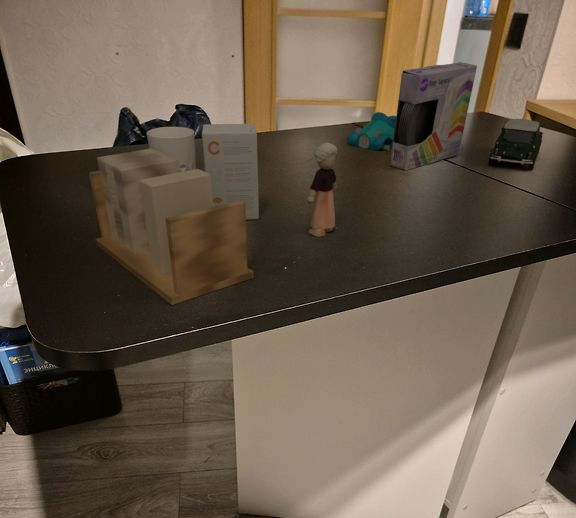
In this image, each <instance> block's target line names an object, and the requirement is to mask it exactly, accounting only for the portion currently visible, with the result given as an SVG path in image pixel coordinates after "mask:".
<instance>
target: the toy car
mask: <svg viewBox="0 0 576 518" xmlns="http://www.w3.org/2000/svg"><path fill="white" fill-rule="evenodd" d="M396 116H397V115H387V114H386V113H385V112H381V111H377V112H374V113H372V116H371V119H370V121H369V122H368V123H367V124H366V125H364V126H363V128H362V127H356V129H354V130H351V131H350V132H349V133H348V135H347V137H346V140H347V143H348V144H349V145H350V146H355V147H358V148H359V149H360V148H362V149H365V150H373V151H379V150H383V151H386V152H389V151H390V149H391V150H392V144H393V137H394V129H395V123H396Z"/></svg>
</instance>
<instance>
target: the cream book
mask: <svg viewBox="0 0 576 518" xmlns="http://www.w3.org/2000/svg"><path fill="white" fill-rule="evenodd" d="M139 182H140V188H141V195H142V202H143V209H144V215H145V222H146V229H147V236H148V242H149V249H150V256H151V263H152V267H153V268H154V269H155V270H157V271H158V272H160V273H161V274H162V275H165V274H169V273H172V268H171V260H170V252H169V244H168V236H167V228H166V220H165V219H166V218H169V217H173V216H178V215H182V214H186V213H190V212H194V211H199V210H203V209H207V208H211V207H213V199H212V184H211V174H209V173H206V172H205V170H203V169H202V170H201V169H200V168H196V169H194V170H189V171H184V172H179V173H174V174H168V175H163V176H158V177H153V178H148V179H143V180H139Z"/></svg>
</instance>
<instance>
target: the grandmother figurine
mask: <svg viewBox="0 0 576 518" xmlns="http://www.w3.org/2000/svg"><path fill="white" fill-rule="evenodd" d="M337 154H338V148H337V146H336V145H334V144H333V143H329V142H324V143H321V144H320V145H319V146H317V148H315V150H314V152H313V156H314V158H315V160H316V162H317V165H318V167H319V169H317V171H316V172H315V174H314V177H313V180H312V182H311V185H310V187H309V191H308V197H307V198H306V202H307V203H308V204H313V205H312V211H311V220H310V227H311V228H310V229H309V230H308V234H310V235H311V236H314V237H317V238H322V237H324V236H326V233H329V232H332V231H333V230H334V228H335V227H336V214H335V201H334V199H335V198H334V191H335V190H337V188H338V184H337V175H336V172H335V170H334V169H333V168H334V166H335V164H336V156H337ZM333 190H334V191H333Z"/></svg>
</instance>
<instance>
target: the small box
mask: <svg viewBox="0 0 576 518" xmlns="http://www.w3.org/2000/svg"><path fill="white" fill-rule="evenodd" d="M201 141H202V152H203V154H202V155H203V163H204V164H203V165H204V172H206V173H209V174H211V184H212V199H213V207H215V206H219V205H224V204H228V203H232V202H236V201H240V200H241V201H243V202H245V212H246V221H247V220H259V219H260V214H259V213H260V209H259V207H260V205H259V204H260V203H259V197H260V195H259V165H258V164H259V162H258V159H259V158H258V133H257V129H256V126H255V123H205V124H203V125H202V130H201Z"/></svg>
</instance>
